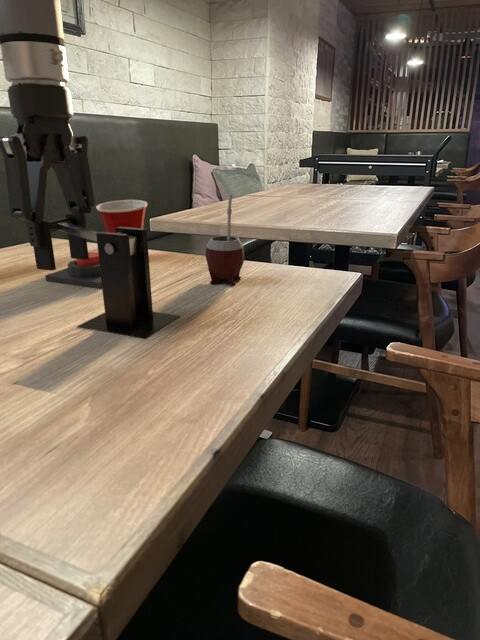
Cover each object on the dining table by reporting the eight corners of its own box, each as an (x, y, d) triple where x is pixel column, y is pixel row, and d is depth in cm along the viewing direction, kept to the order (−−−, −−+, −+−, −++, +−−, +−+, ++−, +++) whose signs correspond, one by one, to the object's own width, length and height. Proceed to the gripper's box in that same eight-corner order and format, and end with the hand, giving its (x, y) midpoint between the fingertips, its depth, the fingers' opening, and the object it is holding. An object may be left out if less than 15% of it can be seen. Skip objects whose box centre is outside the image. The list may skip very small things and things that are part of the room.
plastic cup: (91, 262, 106) (85, 205, 101) (117, 251, 115) (112, 199, 111) (136, 265, 103) (132, 207, 98) (159, 254, 112) (156, 200, 108)
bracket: (78, 334, 67) (64, 234, 63) (118, 313, 75) (109, 222, 70) (145, 346, 63) (136, 240, 58) (180, 323, 71) (175, 227, 66)
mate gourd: (217, 289, 87) (215, 202, 81) (198, 278, 93) (195, 197, 88) (253, 282, 90) (253, 199, 85) (232, 273, 97) (231, 194, 91)
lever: (37, 236, 67) (37, 218, 66) (68, 228, 72) (68, 212, 71) (117, 260, 62) (118, 242, 62) (144, 251, 68) (145, 234, 67)
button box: (46, 287, 88) (43, 265, 87) (84, 273, 97) (81, 253, 96) (100, 295, 84) (98, 272, 83) (135, 279, 93) (133, 259, 91)
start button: (71, 266, 88) (70, 256, 88) (88, 260, 92) (87, 251, 91) (91, 268, 87) (90, 258, 86) (107, 262, 90) (106, 253, 90)
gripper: (-2, 75, 53) (32, 283, 61) (110, 89, 69) (125, 251, 77) (-50, 79, 55) (-11, 277, 64) (68, 91, 72) (87, 248, 80)
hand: (63, 263), depth 70 cm, fingers closed on lever, 6 cm apart
